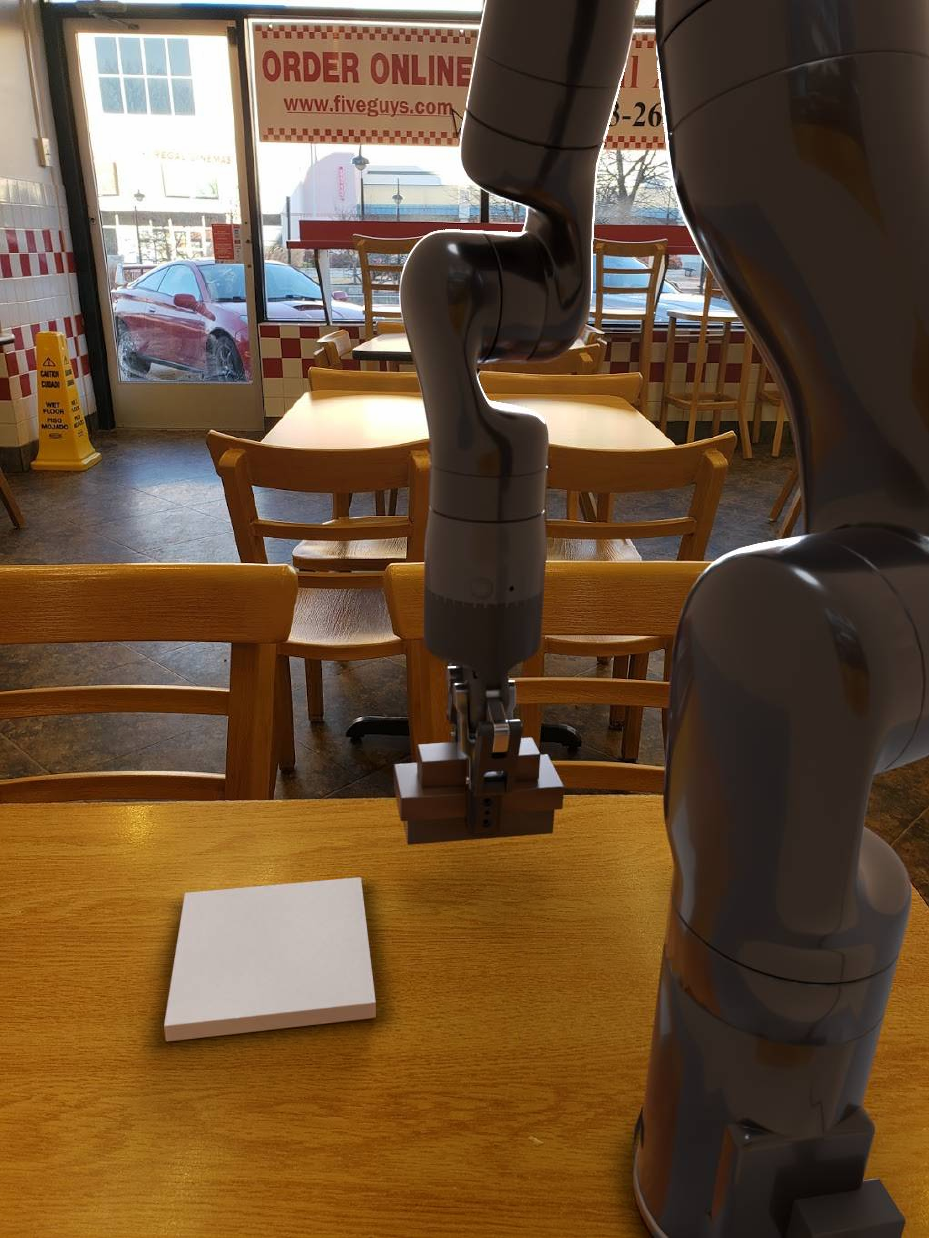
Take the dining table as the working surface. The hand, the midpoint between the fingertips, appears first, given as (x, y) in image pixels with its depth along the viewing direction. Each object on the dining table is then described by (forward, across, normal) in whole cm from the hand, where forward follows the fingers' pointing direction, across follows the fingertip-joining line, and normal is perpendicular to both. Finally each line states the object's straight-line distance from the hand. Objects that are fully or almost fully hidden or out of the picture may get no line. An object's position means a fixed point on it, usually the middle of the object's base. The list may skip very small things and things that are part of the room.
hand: (475, 810), depth 65 cm
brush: (+1, 0, 0) cm, 1 cm away
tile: (+6, -5, +14) cm, 16 cm away
